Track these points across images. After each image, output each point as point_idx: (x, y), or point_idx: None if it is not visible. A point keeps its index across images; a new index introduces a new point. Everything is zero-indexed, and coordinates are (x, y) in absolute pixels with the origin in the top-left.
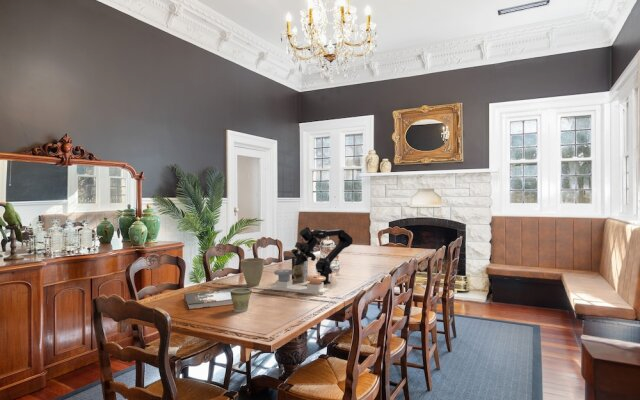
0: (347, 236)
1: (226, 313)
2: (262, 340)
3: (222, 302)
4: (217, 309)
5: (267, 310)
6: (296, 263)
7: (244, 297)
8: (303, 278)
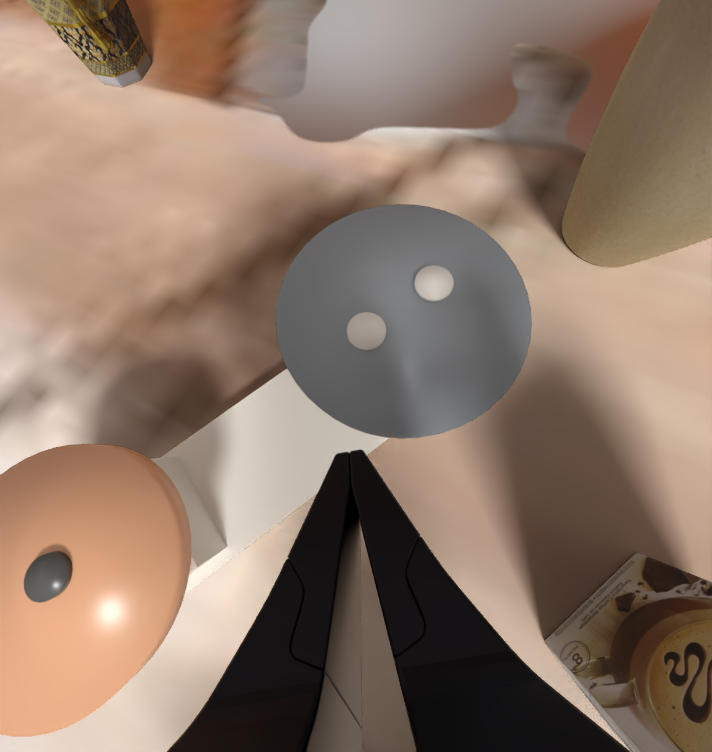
0: None
1: None
2: None
3: (284, 37)
4: (196, 11)
5: (45, 143)
6: (332, 474)
7: None
8: (570, 663)
